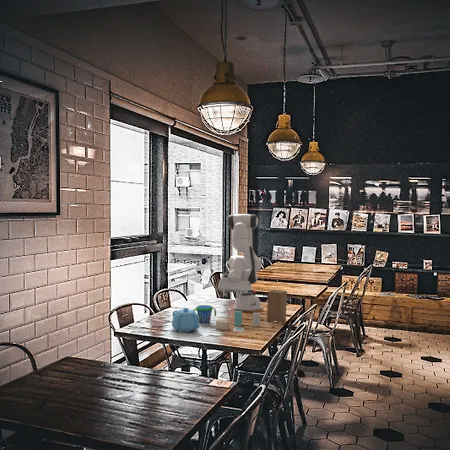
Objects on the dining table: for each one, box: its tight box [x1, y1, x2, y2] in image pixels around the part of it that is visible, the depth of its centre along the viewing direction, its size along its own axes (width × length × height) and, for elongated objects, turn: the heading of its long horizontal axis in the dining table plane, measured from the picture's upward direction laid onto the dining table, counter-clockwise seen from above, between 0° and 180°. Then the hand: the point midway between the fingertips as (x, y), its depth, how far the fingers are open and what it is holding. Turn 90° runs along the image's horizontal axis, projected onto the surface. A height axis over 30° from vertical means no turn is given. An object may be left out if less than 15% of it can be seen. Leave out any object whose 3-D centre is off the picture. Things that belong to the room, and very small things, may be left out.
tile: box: [232, 326, 245, 333], centre depth 311 cm, size 9×6×1 cm, turn 174°
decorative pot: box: [171, 307, 201, 334], centre depth 307 cm, size 16×16×14 cm
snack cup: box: [193, 304, 217, 324], centre depth 329 cm, size 16×10×10 cm
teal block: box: [233, 310, 243, 327], centre depth 322 cm, size 4×4×9 cm
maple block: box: [215, 318, 230, 330], centre depth 315 cm, size 7×7×5 cm
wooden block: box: [266, 289, 288, 323], centre depth 337 cm, size 10×10×20 cm
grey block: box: [252, 312, 261, 326], centre depth 323 cm, size 4×4×8 cm
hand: (231, 296), depth 331 cm, fingers open, 8 cm apart
